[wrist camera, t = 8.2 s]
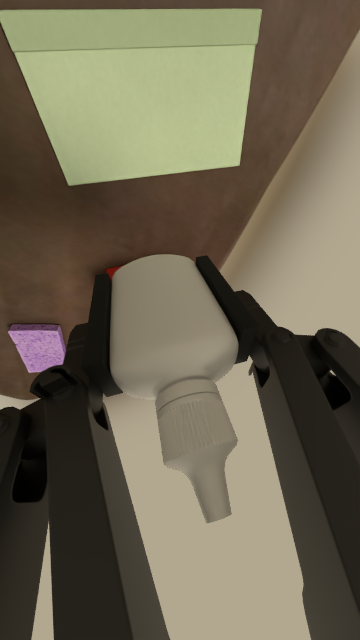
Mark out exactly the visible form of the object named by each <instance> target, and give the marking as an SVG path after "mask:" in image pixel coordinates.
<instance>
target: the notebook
mask: <svg viewBox="0 0 360 640" xmlns="http://www.w3.org/2000/svg"><path fill="white" fill-rule="evenodd" d="M261 12H262V9H90V10H0V22H1V25H2V27H3V30H4V32H5V34H6V37H7V39H8V42H9V44H10V47H11V49H12V51H13V52H14V54H15V56H16V59H17V61H18V63H19V66H20V68H21V71H22V73H23V76H24V78H25V80H26V83H27V85H28V88H29V90H30V93H31V95H32V98H33V100H34V102H35V105H36V107H37V110H38V112H39V115H40V117H41V119H42V122H43V124H44V127H45V129H46V132H47V134H48V136H49V139H50V141H51V144H52V146H53V149H54V151H55V154H56V156H57V158H58V161H59V163H60V166H61V168H62V171H63V173H64V175H65V178H66V180H67V183H68V185H69V186H71V185H79V184H88V183H96V182H104V181H113V180H121V179H130V178H138V177H146V176H155V175H163V174H172V173H180V172H189V171H197V170H205V169H214V168H222V167H231V166H239V163H240V156H241V148H242V141H243V133H244V126H245V118H246V111H247V103H248V96H249V88H250V81H251V73H252V66H253V58H254V51H255V45H256V44H257V41H258V34H259V27H260V19H261Z"/></svg>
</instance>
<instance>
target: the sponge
mask: <svg viewBox="0 0 360 640" xmlns="http://www.w3.org/2000/svg"><path fill="white" fill-rule="evenodd" d="M10 328H11V329H9V331H8V333H9V334H10V336H11V338H12V340H13V341H14V343H15V344H16V347H17V350H18V351H19V354H20V355H21V358H22V360H23V361H24V364H25V365H26V367H27V369H28V371H29V373H31V372H40V371H44V370H46V369H47V368H49V367H52V366H55V365H62V364H63V360H64V356H65V352H66V348H65V344H64V340H63V336H62V331H61V328H60V325H51V324H49V325H48V324H37V325H36V324H30V325H28V324H26V325H25V324H24V325H22V324H13V325H12V326H11V327H10Z"/></svg>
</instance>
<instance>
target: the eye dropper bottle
mask: <svg viewBox="0 0 360 640" xmlns="http://www.w3.org/2000/svg"><path fill="white" fill-rule="evenodd" d="M238 345H239V344H238V340H237V337H236V334H235V332H234V330H233V328H232V326H231V324H230V323H229V321H228V319H227V317H226V315H225V314H224V312H223V310H222V309H221V307H220V305H219V304H218V302H217V300H216V299H215V297H214V295H213V293H212V292H211V290H210V288H209V287H208V285H207V283H206V282H205V280H204V278H203V277H202V275H201V273H200V272H199V270H198V269H197V267H196V265H195V264H194V262H193V261H192V260H191V259H189V258H187V257H184V256H179V255H171V254H160V255H152V256H147V257H143V258H140V259H137V260H135V261H132V262H130V263H128V264H126V265H124V266H123V267H121V268H120V269H118V270H117V271H116V272H115V273H114V275H113V277H112V293H111V321H110V371H111V375H112V377H113V379H114V381H115V383H116V384H117V385H118V387H119V388H120V389H121V390H122V391H123V392H124V393H125V394H127V395H129V396H132V397H135V398H142V399H150V400H155V405H156V412H157V419H158V426H159V433H160V440H161V447H162V455H163V462H164V464H165V465H166V466H167V467H169V468H172V469H175V470H179V471H181V472H183V473H184V474H185V475H186V476H187V477H188V478H189V479H190V481H191V483H192V486H193V488H194V491H195V493H196V496H197V499H198V501H199V504H200V507H201V509H202V512H203V515H204V518H205V520H206V523H210V522H213V521H217V520H220V519H223V518H225V517H227V516H229V515H231V508H230V502H229V496H228V491H227V485H226V479H225V472H224V467H225V461H226V459H227V456H228V455H229V454H230V452H231V451H232V449H233V448H234V447H235V446H236V444H237V441H238V440H237V437H236V434H235V432H234V429H233V427H232V424H231V422H230V419H229V417H228V414H227V412H226V409H225V407H224V404H223V402H222V399H221V397H220V394H219V391H218V389H217V386H216V384H215V382H217V381H218V380H219V379H221V378H222V377H223V376H225V374H227V373H228V372H229V371H230V370H231V368H232V367H233V365H234V363H235V361H236V358H237V353H238Z"/></svg>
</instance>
